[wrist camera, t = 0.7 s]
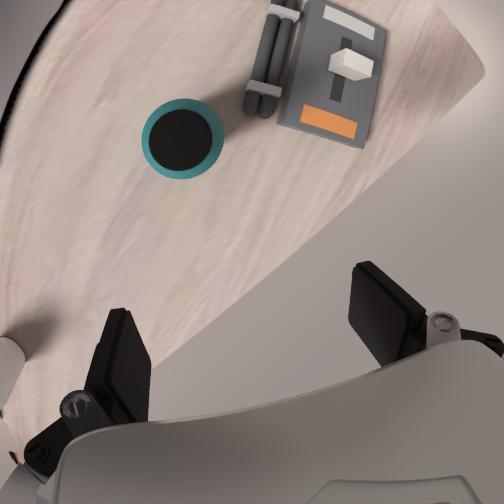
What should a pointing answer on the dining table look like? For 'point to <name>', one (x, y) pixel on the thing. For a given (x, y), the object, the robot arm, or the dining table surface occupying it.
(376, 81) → the panel
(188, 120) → the beverage bottle
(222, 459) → the robot arm
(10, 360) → the milk bottle
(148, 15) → the dining table surface
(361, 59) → the block
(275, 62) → the dressed cords
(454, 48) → the dining table surface
